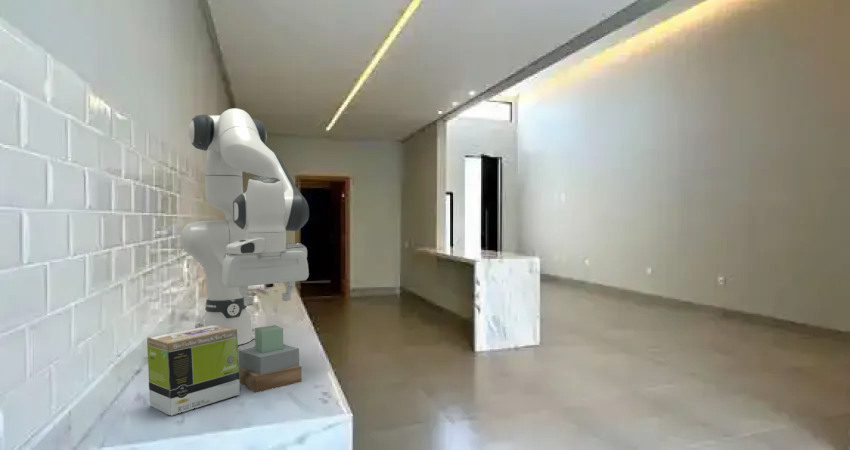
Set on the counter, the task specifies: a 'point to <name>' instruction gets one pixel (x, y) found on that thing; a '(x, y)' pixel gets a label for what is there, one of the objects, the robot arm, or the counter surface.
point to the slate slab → (268, 359)
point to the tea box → (192, 368)
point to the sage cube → (268, 338)
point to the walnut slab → (270, 378)
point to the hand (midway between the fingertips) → (268, 302)
